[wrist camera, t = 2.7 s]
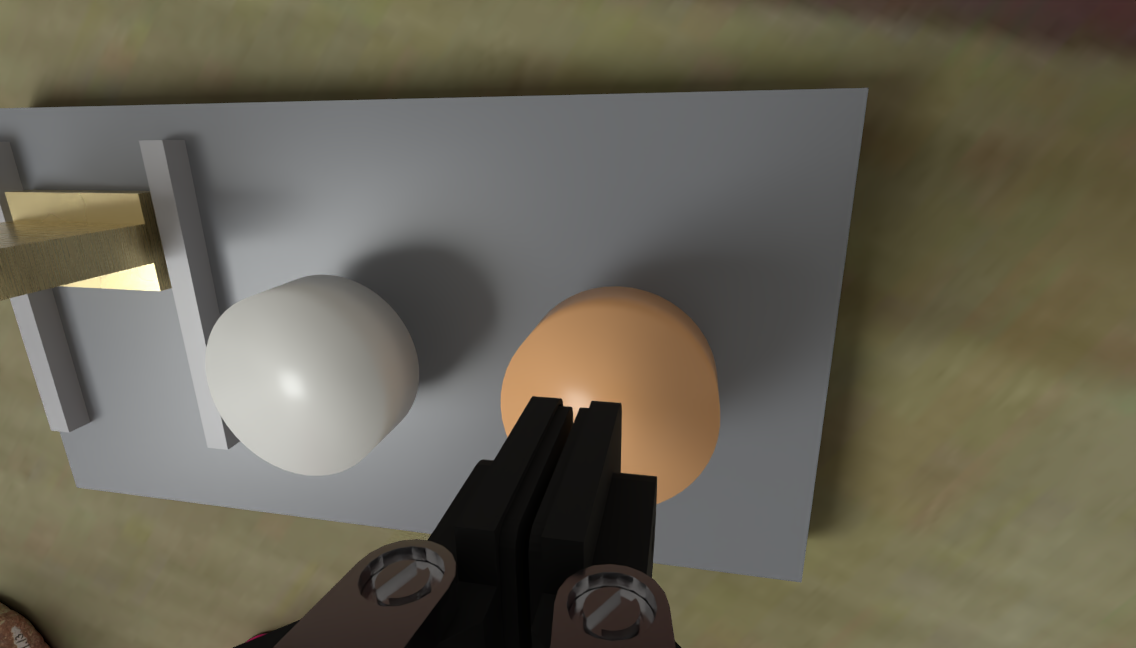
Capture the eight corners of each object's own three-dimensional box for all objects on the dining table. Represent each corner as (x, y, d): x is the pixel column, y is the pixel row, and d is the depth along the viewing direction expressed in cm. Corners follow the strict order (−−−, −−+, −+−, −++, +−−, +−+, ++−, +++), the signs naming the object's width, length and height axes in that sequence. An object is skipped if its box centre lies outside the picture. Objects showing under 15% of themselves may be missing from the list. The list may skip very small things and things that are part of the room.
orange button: (724, 290, 14) (728, 315, 12) (710, 475, 16) (712, 521, 14) (520, 282, 15) (495, 304, 13) (526, 457, 17) (505, 498, 15)
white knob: (410, 278, 16) (371, 298, 14) (426, 446, 17) (393, 485, 15) (244, 271, 17) (187, 288, 15) (274, 431, 18) (225, 466, 16)
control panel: (847, 92, 16) (878, 85, 13) (791, 539, 20) (805, 601, 17) (26, 111, 21) (-70, 108, 18) (122, 460, 25) (56, 498, 23)
